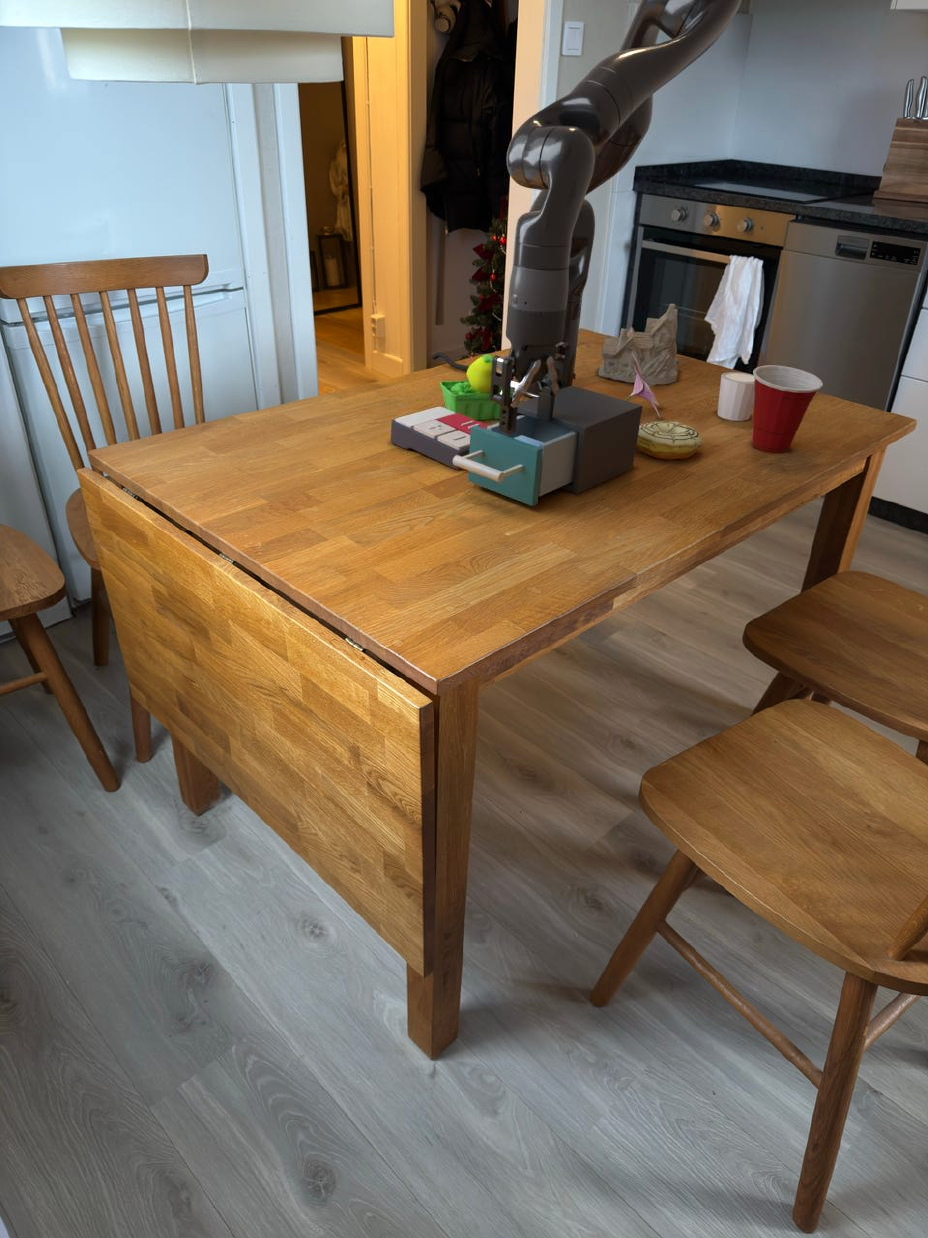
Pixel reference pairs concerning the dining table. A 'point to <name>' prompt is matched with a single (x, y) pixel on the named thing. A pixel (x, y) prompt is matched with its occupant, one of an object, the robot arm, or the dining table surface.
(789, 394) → the plastic cup
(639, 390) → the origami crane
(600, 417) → the cabinet
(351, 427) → the dining table surface
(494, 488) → the drawer
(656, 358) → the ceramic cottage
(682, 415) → the dining table surface
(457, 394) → the fruit basket
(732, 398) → the white faceted cylinder
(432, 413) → the calculator
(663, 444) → the decorated donut
